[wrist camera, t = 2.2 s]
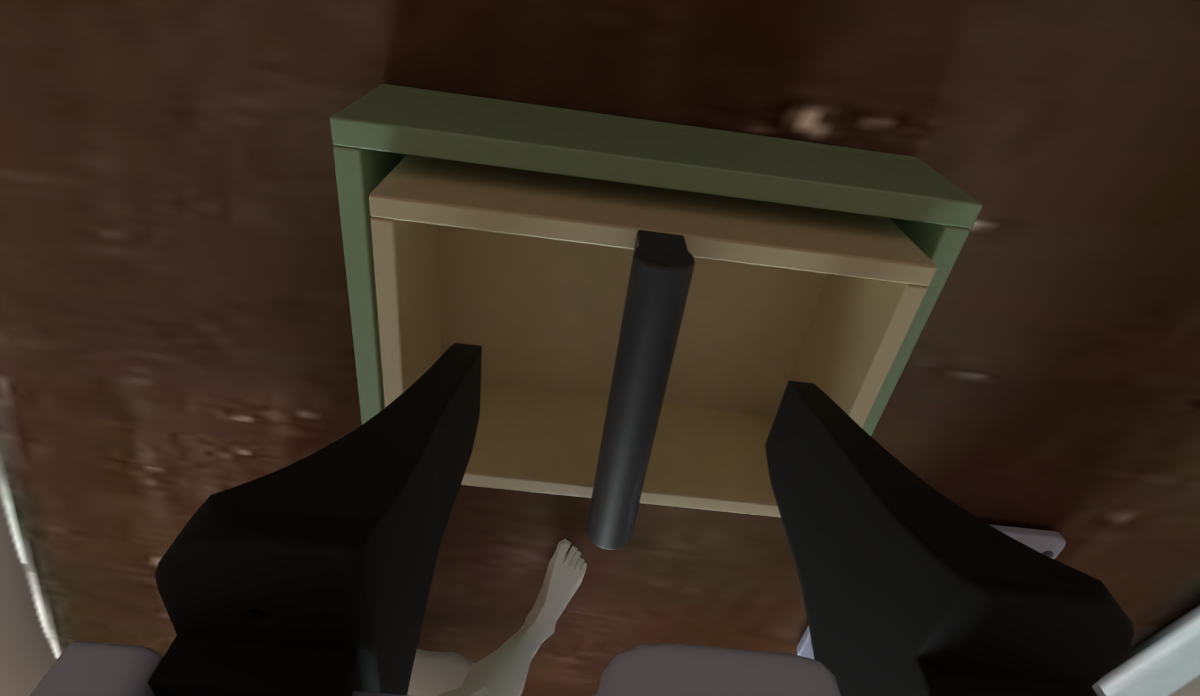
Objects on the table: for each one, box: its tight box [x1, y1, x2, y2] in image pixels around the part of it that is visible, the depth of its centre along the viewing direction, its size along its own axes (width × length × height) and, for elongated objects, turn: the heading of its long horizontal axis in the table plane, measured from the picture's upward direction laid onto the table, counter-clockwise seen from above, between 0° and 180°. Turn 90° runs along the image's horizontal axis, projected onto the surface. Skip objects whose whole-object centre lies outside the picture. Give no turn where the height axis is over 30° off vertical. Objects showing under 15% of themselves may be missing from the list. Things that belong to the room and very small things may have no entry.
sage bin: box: [330, 84, 982, 436], centre depth 18 cm, size 10×14×4 cm
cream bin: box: [369, 155, 937, 550], centre depth 16 cm, size 8×12×6 cm, turn 83°
